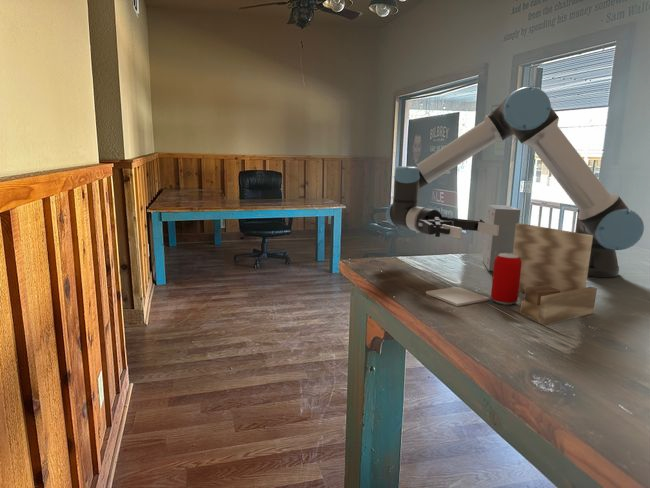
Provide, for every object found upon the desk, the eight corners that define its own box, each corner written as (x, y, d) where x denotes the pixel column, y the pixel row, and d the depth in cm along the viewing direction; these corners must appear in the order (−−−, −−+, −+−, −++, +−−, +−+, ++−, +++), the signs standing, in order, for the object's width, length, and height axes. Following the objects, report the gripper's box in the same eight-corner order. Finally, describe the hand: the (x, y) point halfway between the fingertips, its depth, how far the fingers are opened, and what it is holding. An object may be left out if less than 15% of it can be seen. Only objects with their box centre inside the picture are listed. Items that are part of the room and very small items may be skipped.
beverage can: (522, 305, 110) (527, 257, 108) (499, 306, 109) (504, 258, 106) (507, 297, 116) (512, 252, 113) (485, 298, 114) (490, 252, 112)
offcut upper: (524, 299, 104) (525, 287, 103) (545, 297, 106) (547, 285, 105) (537, 305, 100) (538, 292, 100) (558, 303, 102) (560, 290, 101)
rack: (464, 295, 117) (471, 226, 113) (512, 287, 125) (519, 223, 122) (544, 325, 97) (554, 243, 94) (594, 312, 106) (605, 237, 102)
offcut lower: (520, 314, 104) (521, 300, 103) (539, 310, 107) (541, 296, 107) (539, 321, 100) (541, 306, 99) (559, 317, 103) (561, 302, 103)
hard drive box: (514, 273, 141) (521, 210, 137) (488, 271, 142) (494, 208, 138) (504, 262, 156) (511, 204, 152) (481, 261, 157) (487, 203, 153)
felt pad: (457, 288, 123) (457, 286, 123) (489, 300, 113) (489, 297, 113) (426, 293, 118) (426, 291, 117) (456, 306, 108) (457, 303, 108)
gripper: (454, 230, 142) (510, 243, 124) (390, 235, 130) (442, 249, 112) (456, 207, 141) (513, 215, 123) (392, 209, 129) (445, 219, 111)
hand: (479, 232), depth 117 cm, fingers open, 13 cm apart
